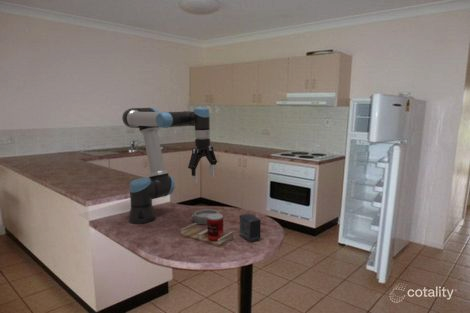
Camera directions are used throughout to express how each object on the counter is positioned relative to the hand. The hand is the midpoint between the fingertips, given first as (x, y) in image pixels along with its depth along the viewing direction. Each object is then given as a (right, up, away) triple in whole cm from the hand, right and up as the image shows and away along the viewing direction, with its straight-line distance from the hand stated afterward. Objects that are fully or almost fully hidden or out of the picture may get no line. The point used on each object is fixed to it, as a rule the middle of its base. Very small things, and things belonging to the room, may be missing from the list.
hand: (203, 179), depth 170 cm
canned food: (+7, -28, -11) cm, 31 cm away
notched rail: (+2, -28, -7) cm, 29 cm away
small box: (+24, -28, -8) cm, 38 cm away
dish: (-1, -25, +17) cm, 30 cm away
